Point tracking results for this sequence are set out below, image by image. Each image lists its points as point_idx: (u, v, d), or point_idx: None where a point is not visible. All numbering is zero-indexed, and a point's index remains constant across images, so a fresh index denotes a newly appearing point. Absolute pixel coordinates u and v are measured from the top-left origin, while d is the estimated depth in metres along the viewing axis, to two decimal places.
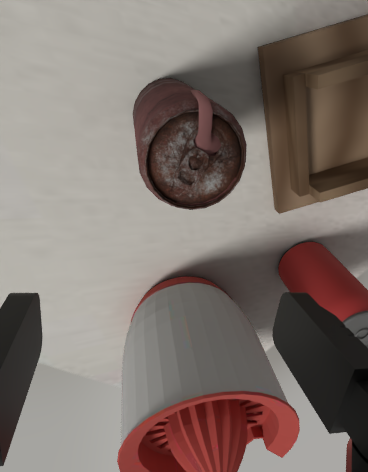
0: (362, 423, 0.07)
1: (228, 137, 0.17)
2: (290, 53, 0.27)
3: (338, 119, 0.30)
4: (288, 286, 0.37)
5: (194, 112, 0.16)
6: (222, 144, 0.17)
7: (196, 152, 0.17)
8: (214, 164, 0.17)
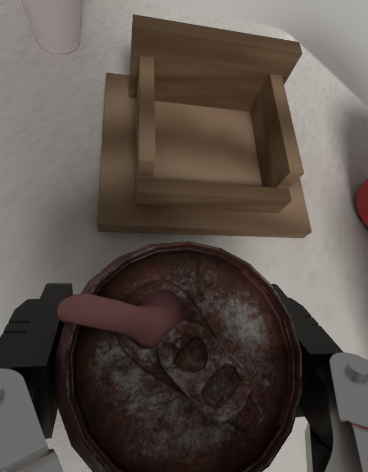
0: (316, 406, 0.08)
1: (155, 271, 0.08)
2: (113, 195, 0.22)
3: (201, 152, 0.25)
4: None
5: (80, 333, 0.07)
6: (166, 285, 0.08)
7: (168, 345, 0.07)
8: (204, 310, 0.08)
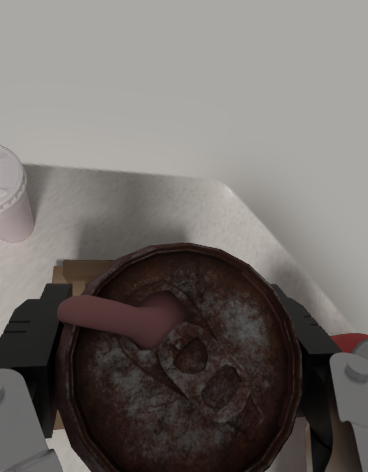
0: (316, 407, 0.08)
1: (155, 272, 0.08)
2: None
3: None
4: None
5: (80, 335, 0.07)
6: (166, 287, 0.08)
7: (168, 347, 0.07)
8: (204, 311, 0.08)
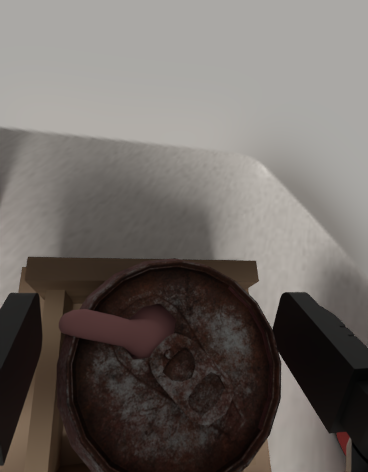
0: (361, 423, 0.07)
1: (148, 287, 0.09)
2: None
3: None
4: None
5: (79, 345, 0.08)
6: (158, 301, 0.09)
7: (159, 356, 0.08)
8: (193, 324, 0.09)
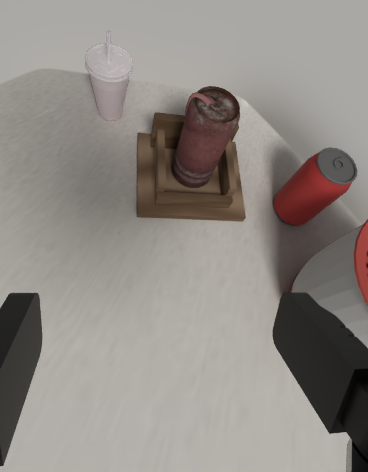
0: (362, 424, 0.07)
1: (208, 92, 0.37)
2: (144, 199, 0.45)
3: None
4: (306, 217, 0.47)
5: (195, 100, 0.36)
6: (211, 95, 0.37)
7: (212, 104, 0.37)
8: (219, 100, 0.37)
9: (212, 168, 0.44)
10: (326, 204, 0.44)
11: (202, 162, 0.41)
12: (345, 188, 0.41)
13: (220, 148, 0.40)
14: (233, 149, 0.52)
